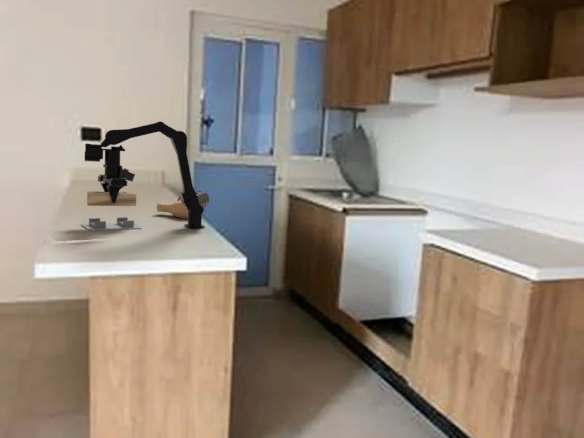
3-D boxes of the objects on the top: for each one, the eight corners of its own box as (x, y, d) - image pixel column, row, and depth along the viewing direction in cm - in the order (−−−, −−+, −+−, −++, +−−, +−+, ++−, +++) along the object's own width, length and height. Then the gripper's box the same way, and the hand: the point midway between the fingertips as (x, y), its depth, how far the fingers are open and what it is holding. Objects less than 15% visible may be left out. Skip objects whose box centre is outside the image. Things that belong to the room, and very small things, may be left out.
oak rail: (136, 206, 217) (136, 193, 216) (87, 205, 209) (87, 192, 209) (134, 204, 221) (134, 191, 220) (87, 204, 214) (87, 190, 213)
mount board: (141, 228, 217) (141, 221, 216) (89, 230, 205) (89, 223, 205) (131, 223, 227) (131, 216, 227) (81, 225, 216) (81, 217, 216)
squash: (192, 221, 243) (192, 201, 242) (151, 217, 248) (152, 197, 246) (202, 218, 253) (202, 199, 252) (163, 214, 258) (163, 195, 257)
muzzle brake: (209, 210, 283) (210, 190, 281) (194, 217, 255) (195, 195, 253) (191, 209, 283) (192, 189, 282) (174, 216, 256) (175, 194, 254)
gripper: (140, 164, 210) (140, 204, 212) (125, 161, 225) (124, 198, 227) (111, 163, 203) (111, 205, 206) (97, 160, 219) (97, 199, 221)
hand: (111, 202), depth 215 cm, fingers closed on oak rail, 5 cm apart
